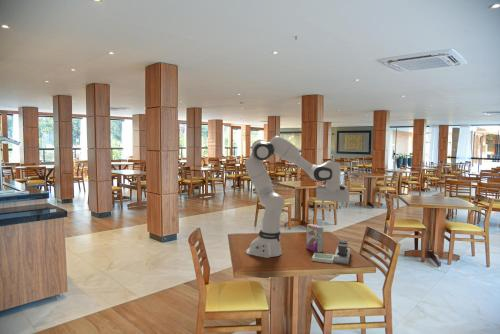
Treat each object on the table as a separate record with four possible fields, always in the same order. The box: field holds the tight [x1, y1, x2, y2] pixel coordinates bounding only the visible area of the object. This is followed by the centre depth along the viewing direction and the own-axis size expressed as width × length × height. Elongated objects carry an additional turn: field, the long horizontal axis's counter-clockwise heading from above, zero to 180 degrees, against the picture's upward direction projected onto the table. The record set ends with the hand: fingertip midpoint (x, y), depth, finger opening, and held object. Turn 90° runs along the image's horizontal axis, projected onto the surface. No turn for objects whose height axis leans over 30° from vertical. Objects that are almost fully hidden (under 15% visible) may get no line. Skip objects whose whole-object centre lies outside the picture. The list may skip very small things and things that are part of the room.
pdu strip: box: [333, 246, 351, 265], centre depth 207 cm, size 8×20×5 cm, turn 161°
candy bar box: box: [305, 223, 324, 253], centre depth 222 cm, size 11×5×16 cm, turn 31°
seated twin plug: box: [338, 239, 349, 252], centre depth 211 cm, size 5×5×8 cm
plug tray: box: [311, 252, 335, 264], centre depth 204 cm, size 12×10×2 cm
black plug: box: [337, 243, 348, 256], centre depth 203 cm, size 5×5×8 cm
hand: (332, 208), depth 215 cm, fingers open, 8 cm apart
